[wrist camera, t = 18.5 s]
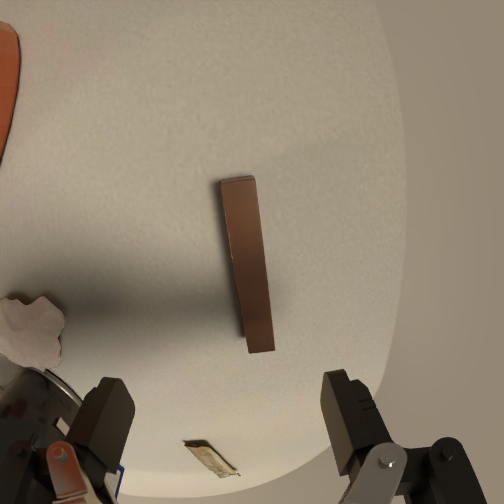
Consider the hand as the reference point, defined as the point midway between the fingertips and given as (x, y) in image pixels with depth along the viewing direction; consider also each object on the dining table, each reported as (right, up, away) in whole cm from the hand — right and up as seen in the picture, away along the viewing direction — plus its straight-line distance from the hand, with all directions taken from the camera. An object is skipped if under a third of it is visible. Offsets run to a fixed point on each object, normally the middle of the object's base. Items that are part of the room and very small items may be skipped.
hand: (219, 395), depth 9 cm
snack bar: (-3, -18, +14) cm, 23 cm away
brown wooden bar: (+1, +5, +6) cm, 8 cm away
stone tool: (-19, -1, +8) cm, 20 cm away
